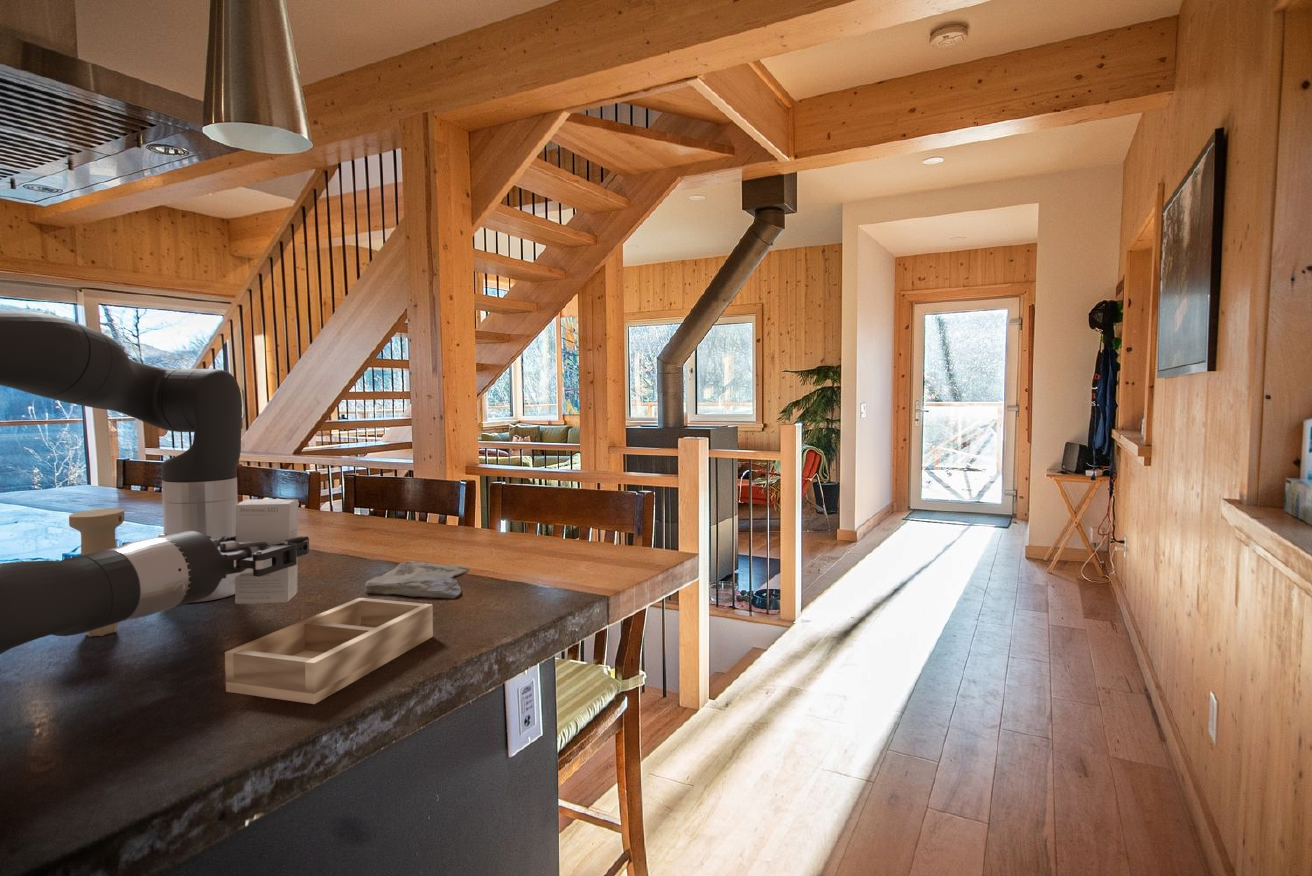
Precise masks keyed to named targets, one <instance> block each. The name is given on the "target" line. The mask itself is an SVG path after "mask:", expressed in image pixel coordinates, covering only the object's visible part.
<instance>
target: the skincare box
mask: <svg viewBox="0 0 1312 876" xmlns="http://www.w3.org/2000/svg"><path fill="white" fill-rule="evenodd" d="M298 532H299V499H292V498H291V499H290V498H289V499H288V498H287V499H284V498H266V499H263V498H261V499H260V498H259V499H258V498H253V499H251V498H249V499H247V498H246V499H244V500H243V501H240V502H239V503H238V504H237V505H236V542H244V541H253V540H263V541H265V542H266V543H271V542H279V541H282V540H284V541H285V540H289V539H293V538H296V537H299V534H298ZM249 548H250V549H251V551H252V558H253V553H255V552H257V547H249ZM297 563H298V557H297ZM297 593H298V564H297V565H294V566H291V567H288V568H285V569H282V570H278V571H275V572H272V573H269V574H266V575H263V576H260V577H257V576H253V572H250V573H243V574H240V575H239V576H237V577H235V594H234V595H235V597H234V602H235V605H243V604H271V603H272V604H274V603H281V604H283V603H287V602H289V601H290V600H292V599H293V597H295V596H296V595H297Z"/></svg>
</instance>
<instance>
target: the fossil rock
mask: <svg viewBox="0 0 1312 876" xmlns="http://www.w3.org/2000/svg"><path fill="white" fill-rule="evenodd" d="M470 570H471V569H470V568H469V567H464V566H462V565H460V566H459V565H445V564H438V563H431V562H430V563H429V562H420V561H416V560H409V561H407V562H401V563H399V564H398V565H397V566H396V567H395V568H393V569H391V570H390V571H387V572H386V573H384V574H382V575H379V576H374V577H373V578H371V579H369V580H367V581H366V582H365V585H364V586H365V587H364V588H365V589H364V593H365V594H377V595H385V596H386V595H389V596H390V595H398V596H399V595H400V596H406V597H407V596H408V597H414V598H415V597H416V598H418V597H420V598H421V597H422V598H441V599H457V598H458V597H459V596H460V594H461V593H462V589H461V588H462V587H461V586H460V584H459V583H458V580H457V579H455V577H459V576H460V575H464V574H466V573H468V572H469V571H470Z"/></svg>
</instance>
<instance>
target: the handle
mask: <svg viewBox="0 0 1312 876" xmlns="http://www.w3.org/2000/svg"><path fill="white" fill-rule="evenodd" d="M124 521H125V508H124V509H123V508H99V509H91V510H84V511H78V512H76V513H71V514H69V516H68V524H69V527H70V528H72V529H73V530H76V531H78V532H79V533H80V541H81V542H80V556H82V555H86V554H91V553H96V552H101V551H105V550H109V549H113V548H115V547H117V543H116V528H118V527H119V526H121V525H122V524H123V523H124ZM118 627H119V622H118V623H114V624H111V625H108V626H105V627H102V628H98V629H95V630H92V631H88V632H85V634H87V636H88V637H103V636H105V635H110V634H114V633H116V631H118Z"/></svg>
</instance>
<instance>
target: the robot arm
mask: <svg viewBox="0 0 1312 876" xmlns="http://www.w3.org/2000/svg"><path fill="white" fill-rule="evenodd" d="M0 386H2V387H7V388H10V389H15V390H18V391H22V392H24V393H28V394H30V395H35V396H38V397H43V398H47V399H50V400H55V401H58V402H59V401H60V402H62V403H63V402H64V403H66V404H68V403H69V404H73V405H79V406H84V407H88V408H94V409H98V410H99V409H100V410H106V411H113V412H118V413H121V414H123V415H126V416H129V417H131V418H134V419H136V420H139V421H141V422H144V423H146V424H148V425H151V426H153V427H156V428H159V429H160V430H161V429H162V430H165V431H168V432H175V433H193V439H192V444H191V446H190V447H189V448H188V449H187V450H186V451H184V452H182V453H181V454H179V455H176V456H173V457H170V458H168V459H166V460H164V461H163V463H162V464H161V465H162V466H161V487H162V490H161V491H162V492H161V493H162V513H163V517H162V518H163V519H162V520H163V521H162V522H163V533H160V534H158V536H156V537H151V538H147V539H143V540H138V541H137V540H136V541H133V542H127V543H124V544H122V545H119V546H116V547H115V548H113V549H109V550H105V551H101V552H96V553H91V554H86V555H82V556H81V555H77V556H74V557H69V558H65V559H62V560H31V561H30V560H29V561H12V562H3V563H0V656H1V655H2V654H4V653H6V652H7V651H9V650H11V649H14V648H16V647H19V646H21V645H24V644H26V643H29V642H33V641H35V640H37V639H40V638H44V637H48V636H55V637H68V636H75V635H80V634H84V633H85V634H86V632H88V631H92V630H95V629H98V628H102V627H105V626H108V625H111V624H114V623H118V624H119V623H121V622H124V621H127V620H133V619H141V618H144V617H149V616H152V615H155V614H159V613H161V612H164V611H167V610H171V609H175V608H177V607H180V606H184V605H185V604H189V603H200V602H201V603H202V602H208V601H209V602H210V601H213V600H214V601H215V600H218V599H223V598H226V597H230V596H233V595H235V577H237V576H239V575H240V574H243V573H250V572H253V576H257V577H260V576H263V575H266V574H269V573H272V572H275V571H278V570H282V569H285V568H288V567H291V566H294V565H297V566H298V562H297V557H301V556H305V555H308V554H309V552H310V538H309V536H306V535H305V536H304V535H302V536H301V535H299V536H298V537H296V538H293V539H289V540H285V541H284V540H282V541H279V542H271V543H266V542H265V541H263V540H253V541H244V542H236V505H237V504H238V502H239V501H238V465H239V461H240V457H241V452H242V424H243V423H242V421H243V400H242V392H241V388H240V386H239V383H238V381H237V380H236V377H234V375H232V374H231V373H230V372H228V371H227V370H224V369H218V368H167V367H165V368H164V367H158V366H153V365H148V364H145V363H141V362H138V361H135V360H132V359H130V358H129V356H128V354H127V353H126V351H125V349H124V348H123V347H122V346H121V345H120V344H119V343H118V342H117V341H116V340H115V339H113V338H112V337H110V336H109V335H106V334H105V333H103V332H101V331H98V330H96V329H94V328H91V327H88V326H86V325H84V324H81V323H78V322H76V321H72V320H70V319H67V318H65V317H61V316H58V315H54V314H49V313H44V312H36V311H21V310H3V309H1V310H0ZM249 547H257V552H255V553H253V558H252V551H251V549H250V548H249Z"/></svg>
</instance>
